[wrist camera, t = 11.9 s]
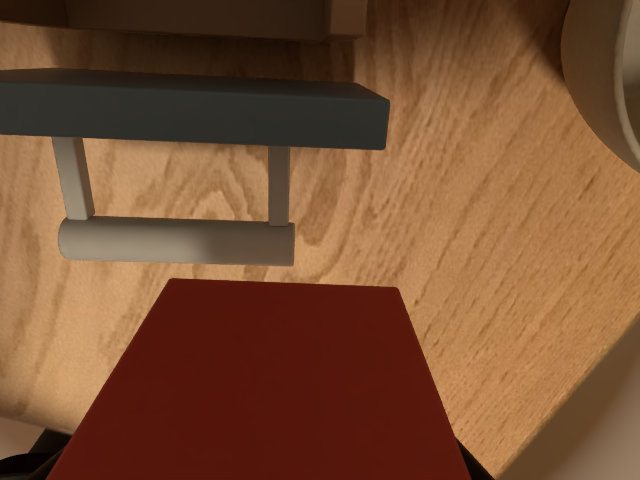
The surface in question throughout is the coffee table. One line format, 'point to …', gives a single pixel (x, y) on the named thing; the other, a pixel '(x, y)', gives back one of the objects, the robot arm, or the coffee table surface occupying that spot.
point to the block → (268, 391)
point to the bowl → (605, 71)
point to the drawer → (188, 118)
